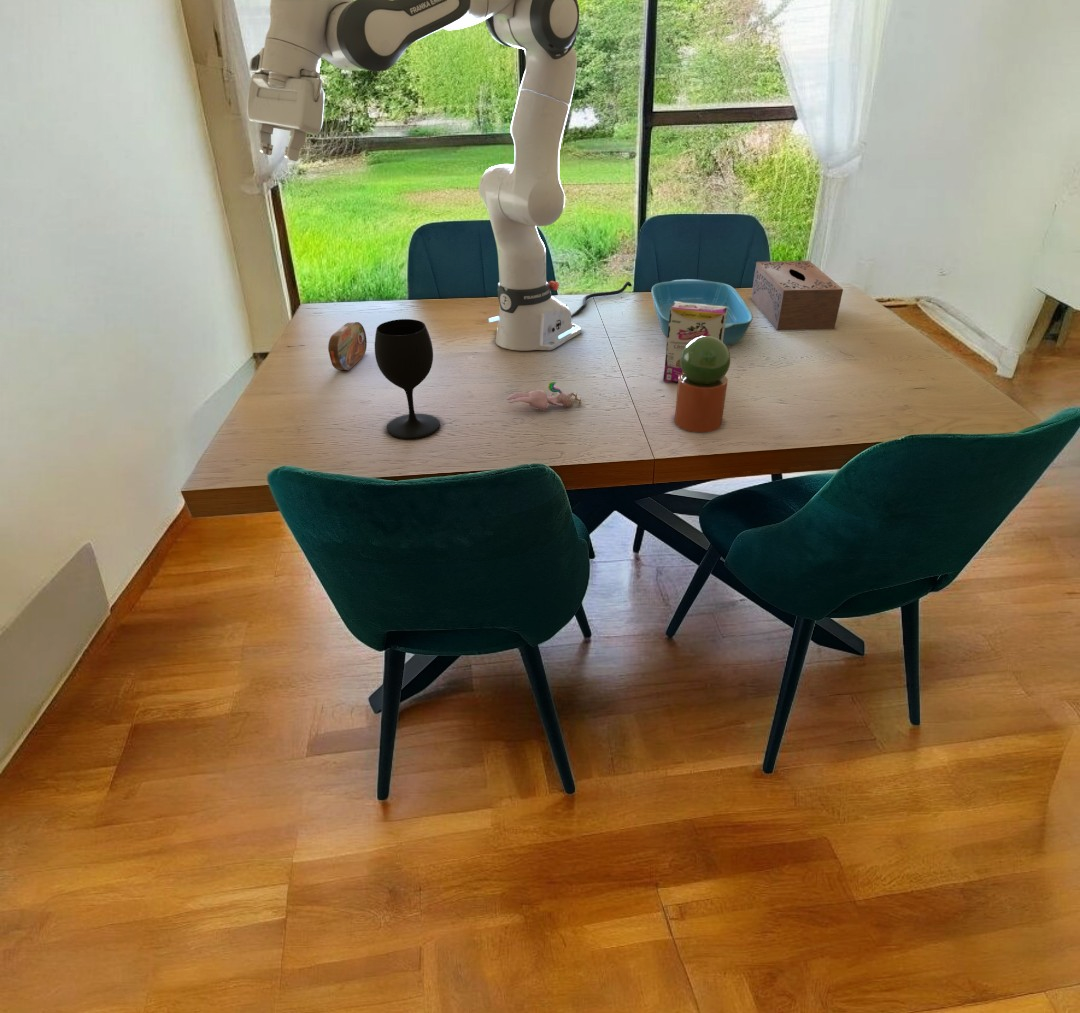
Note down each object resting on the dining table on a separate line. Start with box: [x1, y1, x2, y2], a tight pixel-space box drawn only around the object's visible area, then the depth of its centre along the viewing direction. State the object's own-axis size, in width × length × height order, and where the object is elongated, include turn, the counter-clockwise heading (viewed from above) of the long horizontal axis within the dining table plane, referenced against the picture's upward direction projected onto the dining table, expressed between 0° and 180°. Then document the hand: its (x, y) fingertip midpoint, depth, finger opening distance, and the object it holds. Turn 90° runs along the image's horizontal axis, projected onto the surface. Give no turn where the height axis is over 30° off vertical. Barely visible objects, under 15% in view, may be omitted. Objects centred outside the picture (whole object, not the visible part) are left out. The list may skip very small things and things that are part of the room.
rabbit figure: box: [506, 381, 582, 411], centre depth 144 cm, size 6×6×15 cm
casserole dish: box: [651, 278, 754, 347], centre depth 181 cm, size 37×22×7 cm, turn 179°
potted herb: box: [674, 336, 731, 433], centre depth 135 cm, size 9×9×17 cm
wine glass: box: [374, 318, 441, 441], centre depth 134 cm, size 10×10×20 cm
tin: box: [327, 321, 368, 371], centre depth 165 cm, size 15×3×8 cm, turn 168°
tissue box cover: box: [750, 260, 844, 331], centre depth 188 cm, size 26×14×10 cm, turn 0°
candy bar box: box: [663, 301, 727, 384], centre depth 151 cm, size 11×5×16 cm, turn 71°
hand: (277, 156), depth 124 cm, fingers open, 8 cm apart
